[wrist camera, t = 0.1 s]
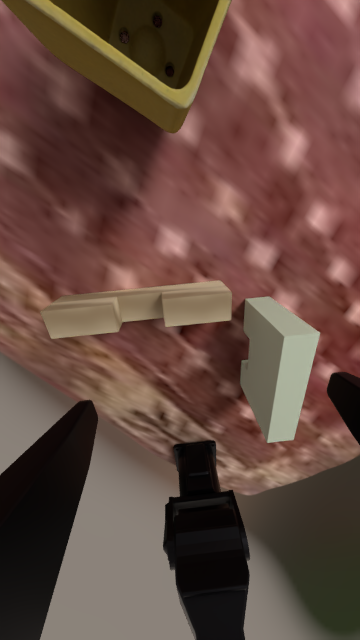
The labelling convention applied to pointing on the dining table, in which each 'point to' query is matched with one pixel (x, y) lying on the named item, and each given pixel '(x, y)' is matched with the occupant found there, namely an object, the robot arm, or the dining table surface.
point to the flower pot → (132, 47)
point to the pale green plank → (276, 366)
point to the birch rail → (137, 308)
